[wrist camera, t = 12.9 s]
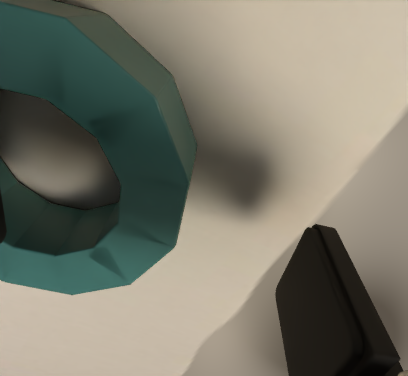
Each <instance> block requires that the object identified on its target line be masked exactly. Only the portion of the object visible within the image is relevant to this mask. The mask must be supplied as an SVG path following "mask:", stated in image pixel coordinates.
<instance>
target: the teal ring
mask: <svg viewBox="0 0 408 376" xmlns="http://www.w3.org/2000/svg"><path fill="white" fill-rule="evenodd" d="M0 89H5V90H9V91H13V92H18V93H22V94H26V95H31V96H35V97H39V98H44V99H46V100H48V101H49V102H50V103H52V104H53V105H54V106H56V107H57V108H58V109H59V110H61V111H62V112H63V113H65V114H66V115H67V116H69V117H70V118H71V119H72V120H74V121H75V122H76V123H78V124H79V125H80V126H82V127H83V128H84V129H86V130H87V131H88V132H89V133H91V134H92V135H93V136H95V137H96V138H97V140H98V142H99V144H100V146H101V148H102V149H103V151H104V153H105V155H106V157H107V159H108V161H109V163H110V165H111V167H112V169H113V170H114V172H115V174H116V176H117V178H118V180H119V182H120V184H121V186H120V198H119V202H118V203H115V204H111V205H107V206H102V207H98V208H94V209H90V210H86V211H85V210H80V209H75V208H71V207H66V206H61V205H56V204H52V203H50V202H48V201H47V200H45V199H43V198H42V197H40V196H39V195H37V194H36V193H34V192H33V191H31V190H30V189H28V188H27V187H25V186H23V185H22V184H20V183H19V182H17V180H16V179H15V177H14V176H13V175H12V173H11V172H10V170H9V169H8V168H7V166H6V165H5V163H4V162H3V161H2V159H1V158H0V189H1V196H2V202H3V209H4V215H5V222H6V229H7V232H6V236H5V238H4V240H3V242H2V243H1V244H0V280H1V281H5V282H7V283H12V284H18V285H23V286H28V287H33V288H38V289H43V290H49V291H54V292H59V293H64V294H69V295H70V294H71V295H75V294H81V293H86V292H92V291H97V290H103V289H108V288H114V287H119V286H125V285H130V284H131V283H133V282H134V281H135V280H136V279H137V278H139V277H140V276H141V275H142V274H143V273H145V272H146V271H147V270H148V269H149V268H151V267H152V266H153V265H154V264H155V263H157V262H158V261H159V260H160V259H161V258H163V257H164V256H165V255H166V254H167V253H169V252H170V251H171V250H172V249H173V248H174V247H175V245H176V243H177V238H178V234H179V229H180V225H181V220H182V216H183V212H184V207H185V203H186V198H187V194H188V189H189V185H190V180H191V175H192V170H193V165H194V160H195V155H196V150H197V143H196V140H195V137H194V134H193V132H192V129H191V126H190V123H189V120H188V117H187V115H186V112H185V109H184V106H183V103H182V100H181V98H180V95H179V92H178V89H177V86H176V83H175V80H174V78H173V76H172V74H171V73H170V72H169V71H168V70H167V69H165V68H164V67H163V66H162V65H161V64H160V63H159V62H158V61H157V60H156V59H155V58H154V57H153V56H151V55H150V54H149V53H148V52H147V51H146V50H145V49H144V48H143V47H142V46H141V45H140V44H139V43H137V42H136V41H135V40H134V39H133V38H132V37H131V36H130V35H129V34H128V33H127V32H126V31H125V30H123V29H122V28H121V27H120V26H119V25H118V24H117V23H116V22H115V21H114V20H113V19H112V18H111V17H109V16H108V15H107V14H105V13H101V12H97V11H93V10H89V9H85V8H81V7H77V6H73V5H69V4H65V3H61V2H57V1H53V0H0Z"/></svg>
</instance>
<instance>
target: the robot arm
mask: <svg viewBox="0 0 408 376" xmlns="http://www.w3.org/2000/svg"><path fill="white" fill-rule="evenodd" d="M6 232H7V229H6V222H5V215H4V209H3V202H2V196H1V189H0V244H1V243H2V242H3V240H4V238H5V236H6ZM276 303H277V308H278V314H279V320H280V326H281V332H282V338H283V344H284V350H285V355H286V361H287V367H288V373H289V376H408V370H406V371H403V369H402V367H401V365H400V363H399V360H400V357H399V355H398V353H397V351H396V349H395V347H394V345H393V343H392V341H391V339H390V337H389V335H388V333H387V331H386V329H385V327H384V325H383V323H382V321H381V319H380V317H379V315H378V313H377V311H376V309H375V307H374V305H373V303H372V301H371V299H370V297H369V295H368V293H367V291H366V289H365V287H364V285H363V283H362V281H361V279H360V277H359V275H358V273H357V271H356V269H355V267H354V265H353V263H352V261H351V259H350V257H349V255H348V253H347V251H346V249H345V247H344V245H343V243H342V241H341V239H340V237H339V235H338V233H337V231H336V230H335V229H334V228H331V227H327V226H322V225H317V224H315V225H313V226H312V228H309V227H308V228H307V229H306V230H305V231H304V233H303V235H302V237H301V239H300V241H299V243H298V245H297V248H296V249H295V252H294V253H293V255H292V257H291V259H290V261H289V263H288V266H287V268H286V269H285V271H284V273H283V275H282V277H281V279H280V281H279V283H278V285H277V288H276Z"/></svg>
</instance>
